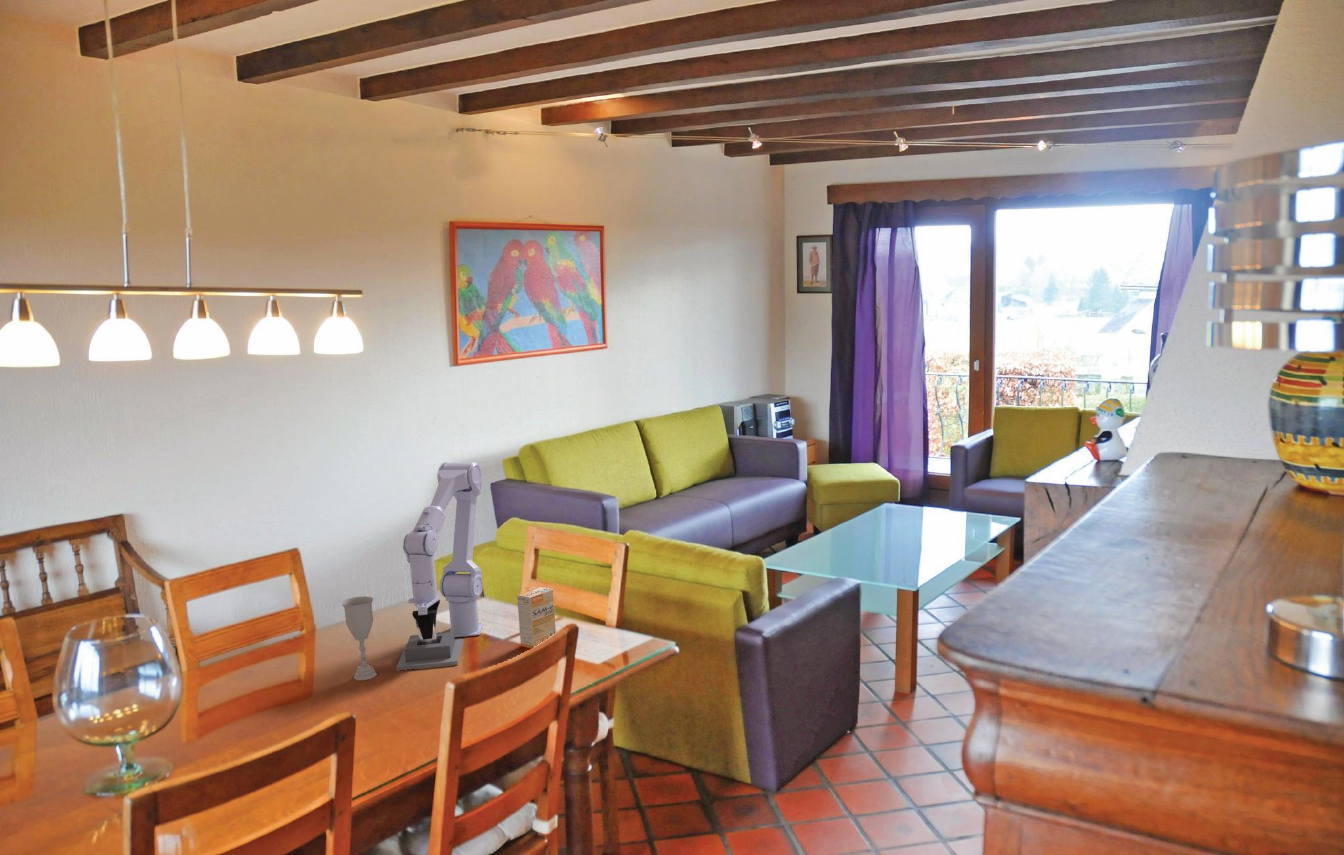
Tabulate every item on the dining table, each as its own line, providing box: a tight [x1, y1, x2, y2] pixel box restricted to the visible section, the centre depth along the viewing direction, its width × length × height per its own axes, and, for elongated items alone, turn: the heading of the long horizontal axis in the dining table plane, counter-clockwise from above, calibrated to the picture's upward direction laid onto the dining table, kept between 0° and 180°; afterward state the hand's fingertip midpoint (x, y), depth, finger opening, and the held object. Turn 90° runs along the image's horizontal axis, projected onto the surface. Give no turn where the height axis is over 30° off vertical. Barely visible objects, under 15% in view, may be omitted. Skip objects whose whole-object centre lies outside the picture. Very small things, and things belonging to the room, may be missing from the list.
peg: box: [415, 621, 438, 645], centre depth 244 cm, size 4×4×8 cm
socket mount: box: [395, 631, 464, 672], centre depth 244 cm, size 16×14×4 cm
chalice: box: [341, 596, 378, 681], centre depth 233 cm, size 7×7×18 cm
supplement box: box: [516, 586, 557, 649], centre depth 249 cm, size 8×5×13 cm, turn 143°
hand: (429, 634), depth 244 cm, fingers open, 5 cm apart
